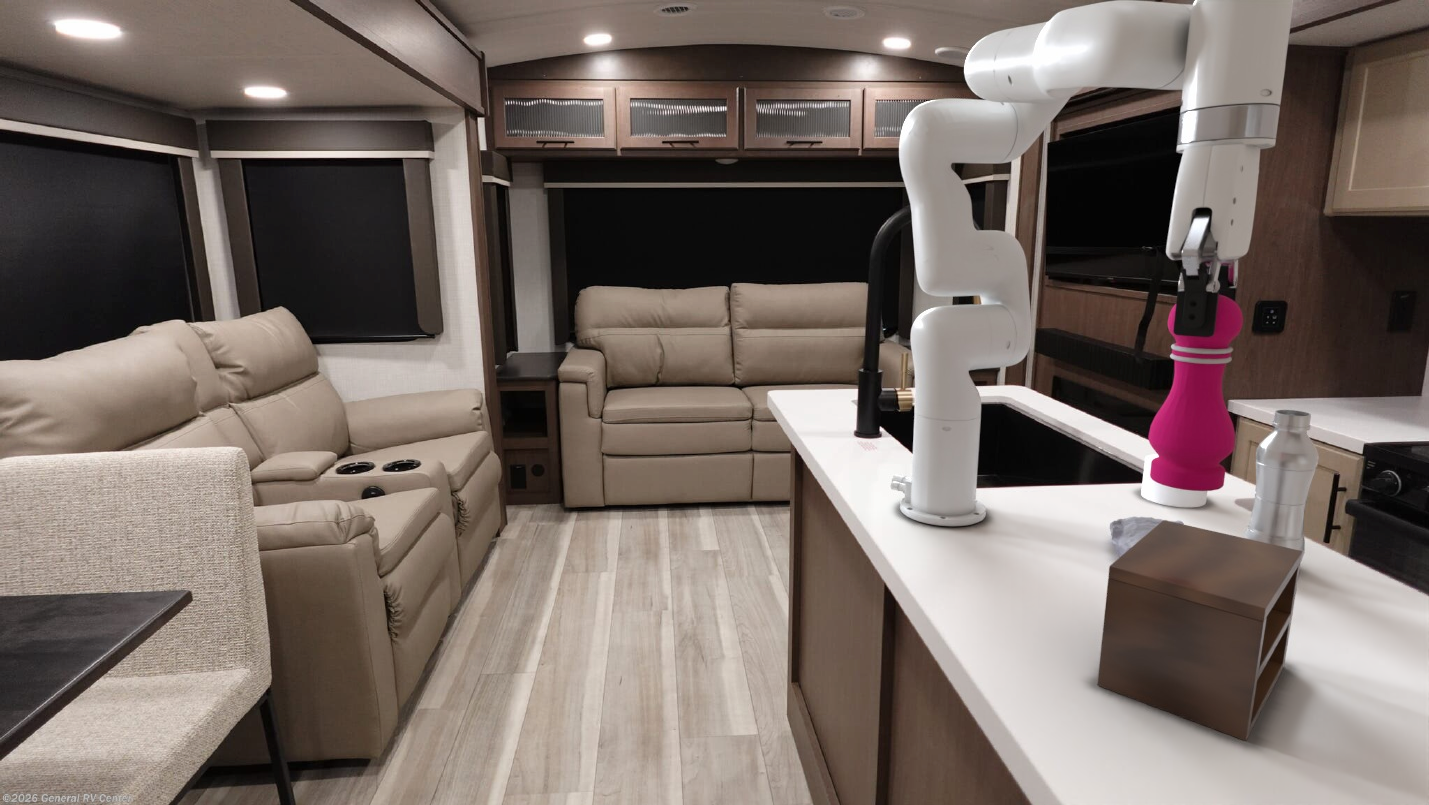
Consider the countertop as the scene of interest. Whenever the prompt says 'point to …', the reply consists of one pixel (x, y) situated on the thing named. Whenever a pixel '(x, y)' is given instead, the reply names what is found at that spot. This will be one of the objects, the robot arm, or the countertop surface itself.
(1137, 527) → the stone block
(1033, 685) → the countertop surface
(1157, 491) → the base with upright slab
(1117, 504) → the countertop surface
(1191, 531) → the shelf
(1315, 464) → the silver metal bottle
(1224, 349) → the pepper mill
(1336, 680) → the countertop surface
